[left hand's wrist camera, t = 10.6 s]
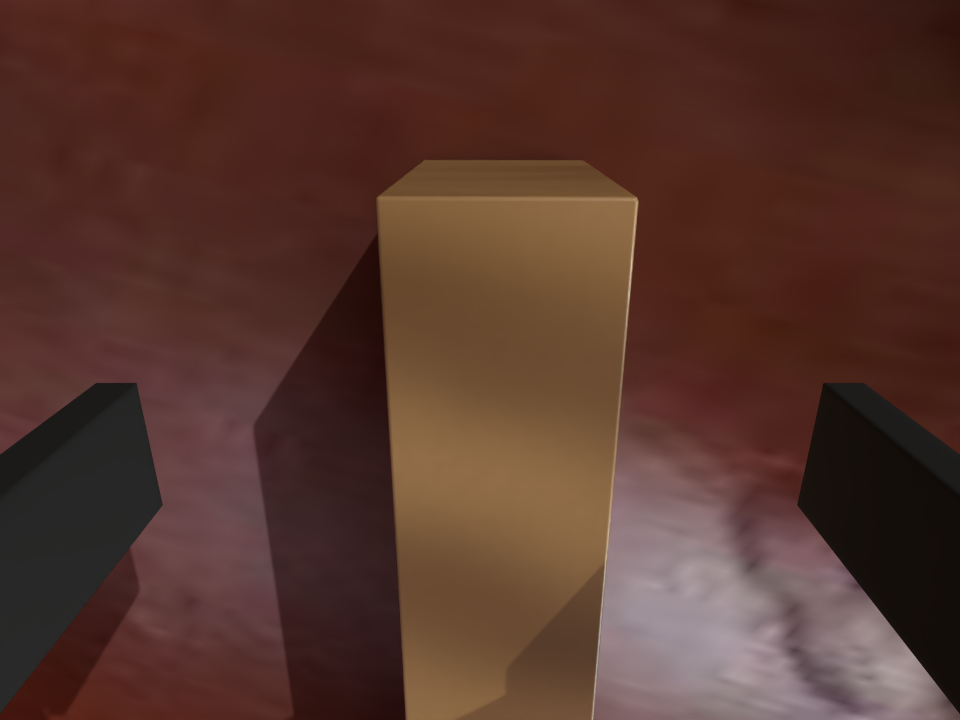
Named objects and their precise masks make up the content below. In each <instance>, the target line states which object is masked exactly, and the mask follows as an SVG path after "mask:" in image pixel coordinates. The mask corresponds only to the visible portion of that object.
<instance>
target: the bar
mask: <svg viewBox="0 0 960 720" xmlns="http://www.w3.org/2000/svg"><path fill="white" fill-rule="evenodd" d="M637 212H638V199H637V197H635V196H634V195H632V194H631V193H629V192H628V191H627V190H625V189H624V188H622V187H621V186H619V185H618V184H616V183H615V182H613V181H612V180H611V179H609V178H608V177H606V176H605V175H603V174H602V173H600V172H599V171H598V170H596V169H595V168H593V167H592V166H590V165H589V164H587V163H586V162H584V161H582V160H424V161H423V162H421V163H420V164H419V165H417V166H416V167H415V168H414V169H412V170H411V171H410V172H408V173H407V174H406V175H405V176H403V177H402V178H401V179H399V180H398V181H397V182H396V183H394V184H393V185H392V186H390V187H389V188H388V189H386V190H385V191H384V192H383V193H381V194H380V195H379V196H377V198H376V216H377V233H378V251H379V268H380V285H381V303H382V320H383V337H384V355H385V372H386V389H387V407H388V424H389V441H390V459H391V476H392V493H393V511H394V528H395V545H396V563H397V580H398V597H399V615H400V632H401V649H402V667H403V684H404V701H405V719H406V720H593V716H594V705H595V694H596V682H597V671H598V659H599V648H600V636H601V625H602V613H603V602H604V590H605V579H606V567H607V556H608V544H609V533H610V521H611V510H612V498H613V487H614V476H615V464H616V453H617V441H618V430H619V418H620V407H621V395H622V384H623V372H624V361H625V349H626V338H627V326H628V315H629V303H630V292H631V281H632V269H633V258H634V246H635V235H636V223H637Z"/></svg>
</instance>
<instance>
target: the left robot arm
mask: <svg viewBox="0 0 960 720" xmlns="http://www.w3.org/2000/svg"><path fill="white" fill-rule="evenodd" d="M161 506H162V500H161V495H160V491H159V486H158V481H157V477H156V472H155V467H154V463H153V458H152V453H151V449H150V444H149V439H148V435H147V430H146V426H145V421H144V416H143V412H142V407H141V402H140V398H139V393H138V388H137V384H136V383H96V384H94V385H93V386H92V387H90V388H89V389H88V390H86V391H85V392H84V393H82V394H81V395H80V396H78V397H77V398H76V399H74V400H73V401H72V402H70V403H69V404H68V405H66V406H65V407H64V408H62V409H61V410H60V411H58V412H57V413H56V414H54V415H53V416H51V417H50V418H49V419H47V420H46V421H45V422H43V423H42V424H41V425H39V426H38V427H37V428H35V429H34V430H33V431H31V432H30V433H29V434H27V435H26V436H25V437H23V438H22V439H21V440H19V441H18V442H17V443H15V444H14V445H13V446H11V447H10V448H9V449H7V450H6V451H5V452H3V453H2V454H0V713H1V712H2V711H3V710H4V708H5V707H6V706H7V704H8V703H9V702H10V701H11V699H12V698H13V697H14V695H15V694H16V693H17V692H18V690H19V689H20V688H21V686H22V685H23V684H24V683H25V681H26V680H27V679H28V677H29V676H30V675H31V674H32V672H33V671H34V670H35V668H36V667H37V666H38V665H39V663H40V662H41V661H42V659H43V658H44V657H45V656H46V654H47V653H48V652H49V650H50V649H51V648H52V647H53V645H54V644H55V643H56V641H57V640H58V639H59V638H60V636H61V635H62V634H63V632H64V631H65V630H66V629H67V627H68V626H69V625H70V623H71V622H72V621H73V620H74V618H75V617H76V616H77V614H78V613H79V612H80V611H81V609H82V608H83V607H84V605H85V604H86V603H87V602H88V600H89V599H90V598H91V596H92V595H93V594H94V593H95V591H96V590H97V589H98V587H99V586H100V585H101V584H102V582H103V581H104V580H105V578H106V577H107V576H108V575H109V573H110V572H111V571H112V569H113V568H114V567H115V566H116V564H117V563H118V562H119V560H120V559H121V558H122V557H123V555H124V554H125V553H126V551H127V550H128V549H129V548H130V546H131V545H132V544H133V542H134V541H135V540H136V539H137V537H138V536H139V535H140V533H141V532H142V531H143V530H144V528H145V527H146V526H147V524H148V523H149V522H150V521H151V519H152V518H153V517H154V515H155V514H156V513H157V512H158V510H159V509H160V508H161ZM798 506H799V508H800V509H801V510H802V512H803V513H804V514H805V515H806V517H807V518H808V519H809V521H810V522H811V523H812V524H813V526H814V527H815V528H816V530H817V531H818V532H819V533H820V535H821V536H822V537H823V539H824V540H825V541H826V542H827V544H828V545H829V546H830V548H831V549H832V550H833V551H834V553H835V554H836V555H837V557H838V558H839V559H840V560H841V562H842V563H843V564H844V566H845V567H846V568H847V569H848V571H849V572H850V573H851V575H852V576H853V577H854V578H855V580H856V581H857V582H858V584H859V585H860V586H861V587H862V589H863V590H864V591H865V593H866V594H867V595H868V596H869V598H870V599H871V600H872V602H873V603H874V604H875V605H876V607H877V608H878V609H879V611H880V612H881V613H882V614H883V616H884V617H885V618H886V620H887V621H888V622H889V623H890V625H891V626H892V627H893V629H894V630H895V631H896V632H897V634H898V635H899V636H900V638H901V639H902V640H903V641H904V643H905V644H906V645H907V647H908V648H909V649H910V650H911V652H912V653H913V654H914V656H915V657H916V658H917V659H918V661H919V662H920V663H921V665H922V666H923V667H924V668H925V670H926V671H927V672H928V674H929V675H930V676H931V677H932V679H933V680H934V681H935V683H936V684H937V685H938V686H939V688H940V689H941V690H942V692H943V693H944V694H945V695H946V697H947V698H948V699H949V701H950V702H951V703H952V704H953V706H954V707H955V708H956V710H957V711H958V712H959V713H960V454H958V453H957V452H955V451H954V450H953V449H951V448H950V447H949V446H947V445H946V444H945V443H943V442H942V441H941V440H939V439H938V438H937V437H935V436H934V435H933V434H931V433H930V432H929V431H927V430H926V429H925V428H923V427H922V426H921V425H919V424H918V423H917V422H915V421H914V420H913V419H911V418H910V417H909V416H907V415H906V414H904V413H903V412H902V411H900V410H899V409H898V408H896V407H895V406H894V405H892V404H891V403H890V402H888V401H887V400H886V399H884V398H883V397H882V396H880V395H879V394H878V393H876V392H875V391H874V390H872V389H871V388H870V387H868V386H867V385H866V384H864V383H824V384H823V388H822V393H821V398H820V402H819V407H818V412H817V416H816V421H815V426H814V430H813V435H812V439H811V444H810V449H809V453H808V458H807V463H806V467H805V472H804V477H803V481H802V486H801V491H800V495H799V500H798Z"/></svg>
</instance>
